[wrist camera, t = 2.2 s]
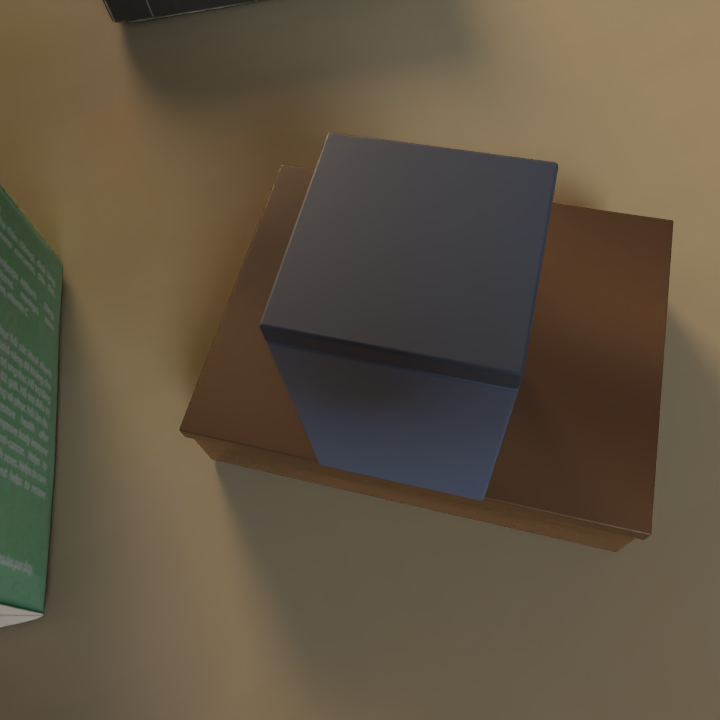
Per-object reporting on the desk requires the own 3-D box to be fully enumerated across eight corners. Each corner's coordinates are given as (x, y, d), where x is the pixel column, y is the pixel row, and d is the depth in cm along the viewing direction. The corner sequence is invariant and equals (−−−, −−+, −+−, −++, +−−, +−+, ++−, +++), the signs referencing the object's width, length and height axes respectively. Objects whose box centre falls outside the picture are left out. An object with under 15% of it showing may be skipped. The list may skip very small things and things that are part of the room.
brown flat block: (621, 557, 20) (651, 536, 17) (206, 462, 23) (178, 430, 20) (646, 272, 24) (674, 219, 22) (295, 217, 27) (281, 163, 24)
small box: (483, 502, 18) (523, 376, 11) (318, 465, 19) (257, 326, 12) (510, 351, 20) (559, 160, 13) (359, 323, 21) (327, 130, 14)
